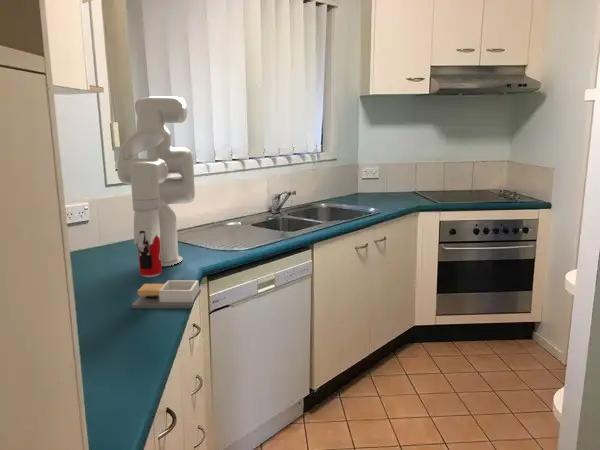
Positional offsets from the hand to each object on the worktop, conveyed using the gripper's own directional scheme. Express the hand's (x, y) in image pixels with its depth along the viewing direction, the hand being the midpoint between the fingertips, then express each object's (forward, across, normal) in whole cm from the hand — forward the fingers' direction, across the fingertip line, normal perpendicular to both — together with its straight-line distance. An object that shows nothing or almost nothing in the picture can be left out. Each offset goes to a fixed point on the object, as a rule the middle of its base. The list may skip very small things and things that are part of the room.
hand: (150, 264), depth 149 cm
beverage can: (+3, 0, 0) cm, 3 cm away
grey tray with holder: (+11, 0, +4) cm, 12 cm away
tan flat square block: (+10, 0, 0) cm, 10 cm away
